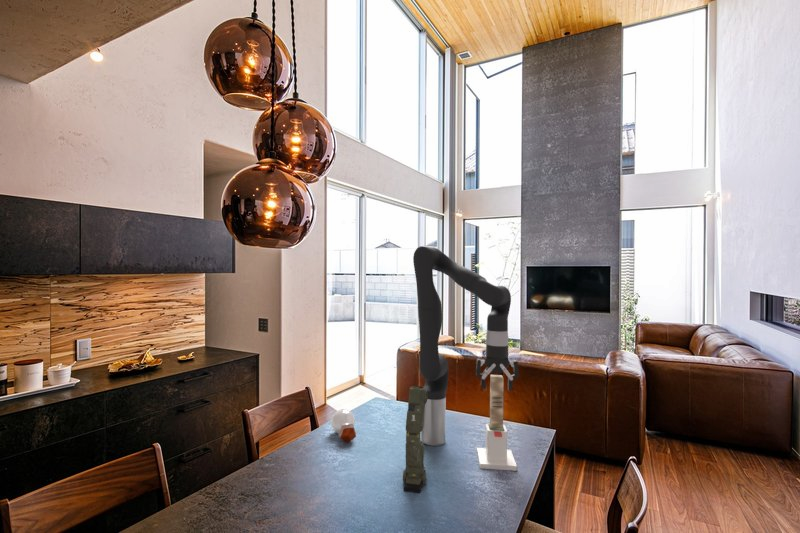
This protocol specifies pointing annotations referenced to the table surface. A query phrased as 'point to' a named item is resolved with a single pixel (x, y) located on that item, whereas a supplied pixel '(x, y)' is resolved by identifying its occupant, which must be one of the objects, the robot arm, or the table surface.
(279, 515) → the table surface
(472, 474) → the table surface
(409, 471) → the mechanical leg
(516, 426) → the table surface
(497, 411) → the post
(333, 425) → the potion bottle
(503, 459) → the sleeve stand
